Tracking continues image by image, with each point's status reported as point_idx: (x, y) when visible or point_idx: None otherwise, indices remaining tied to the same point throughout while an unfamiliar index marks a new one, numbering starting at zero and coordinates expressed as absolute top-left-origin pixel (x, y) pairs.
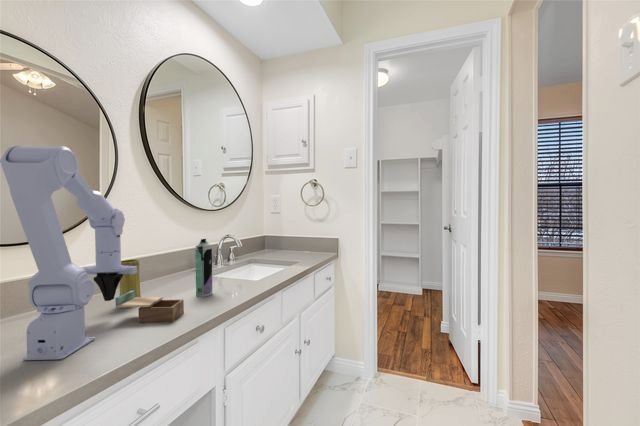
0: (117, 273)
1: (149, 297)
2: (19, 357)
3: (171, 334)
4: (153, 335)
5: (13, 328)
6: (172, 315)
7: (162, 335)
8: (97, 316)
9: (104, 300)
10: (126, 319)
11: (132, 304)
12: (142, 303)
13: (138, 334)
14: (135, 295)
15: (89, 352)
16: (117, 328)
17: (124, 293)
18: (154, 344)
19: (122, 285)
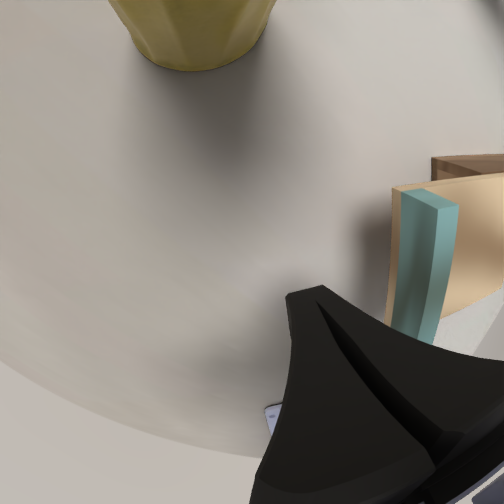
0: (489, 464)
1: (487, 185)
2: (253, 448)
3: (497, 300)
4: (472, 317)
5: (18, 364)
6: None
7: (485, 310)
8: (166, 227)
9: (291, 338)
10: (362, 238)
11: (453, 306)
12: (482, 282)
13: (446, 325)
14: (273, 1)
15: None
16: (378, 316)
17: (201, 32)
18: (476, 342)
19: (173, 5)
